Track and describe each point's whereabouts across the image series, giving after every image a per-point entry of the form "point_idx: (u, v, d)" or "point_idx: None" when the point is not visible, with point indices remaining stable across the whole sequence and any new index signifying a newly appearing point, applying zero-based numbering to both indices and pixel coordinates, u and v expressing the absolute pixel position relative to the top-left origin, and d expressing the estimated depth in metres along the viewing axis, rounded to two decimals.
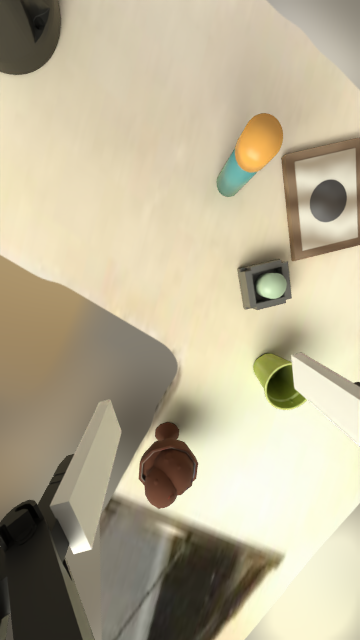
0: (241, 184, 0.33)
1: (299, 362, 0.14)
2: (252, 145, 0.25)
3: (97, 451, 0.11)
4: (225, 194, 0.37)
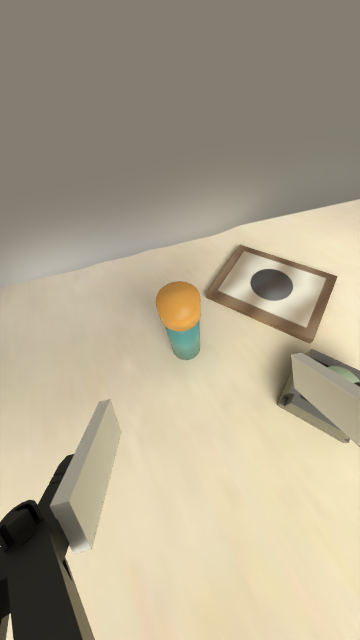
0: (196, 339, 0.28)
1: (299, 362, 0.14)
2: (174, 310, 0.22)
3: (97, 451, 0.11)
4: (192, 356, 0.32)
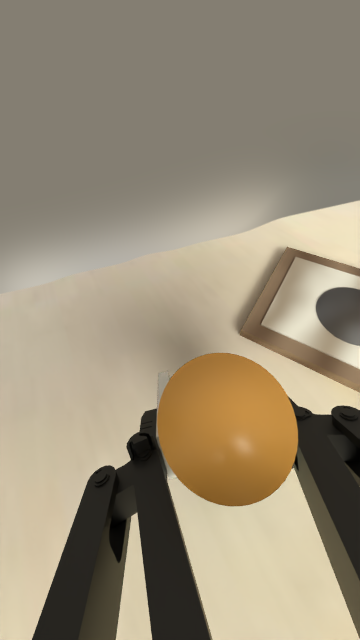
0: None
1: None
2: (219, 467, 0.07)
3: None
4: None
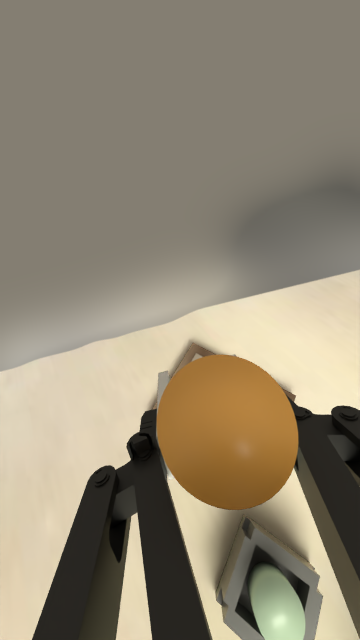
0: None
1: None
2: (219, 470, 0.07)
3: None
4: None
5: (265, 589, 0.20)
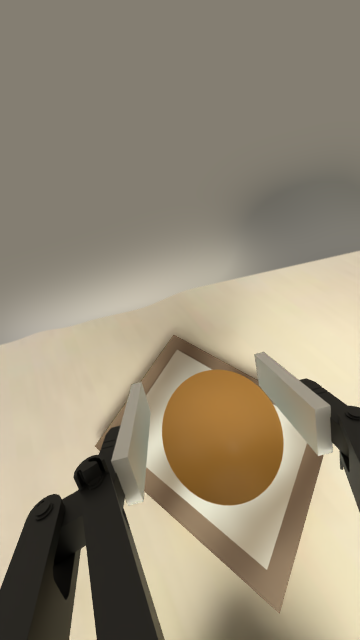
0: None
1: (260, 361, 0.15)
2: (215, 472, 0.08)
3: (138, 423, 0.12)
4: None
5: None
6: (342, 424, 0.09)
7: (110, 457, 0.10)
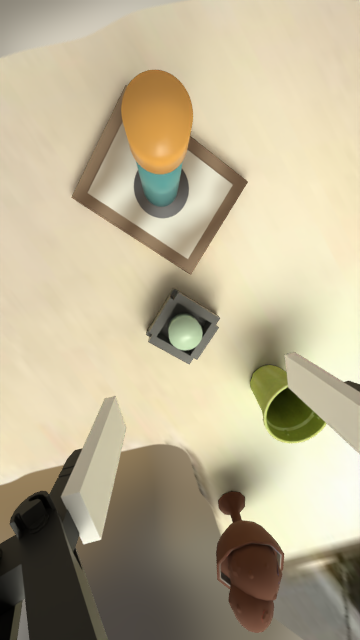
0: (177, 181, 0.22)
1: (292, 362, 0.14)
2: (153, 139, 0.14)
3: (104, 446, 0.11)
4: (169, 203, 0.27)
5: (178, 323, 0.27)
6: None
7: None
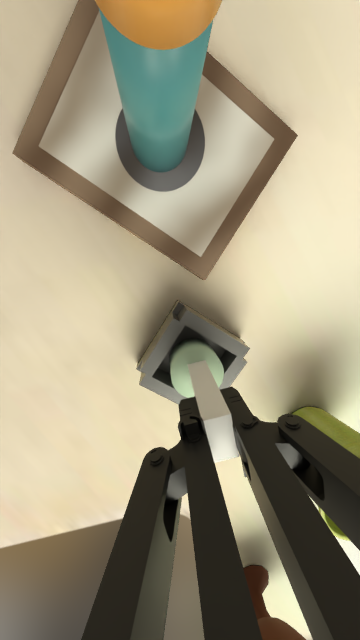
0: (191, 110, 0.12)
1: (198, 369, 0.16)
2: None
3: None
4: (173, 165, 0.16)
5: (186, 359, 0.17)
6: (239, 436, 0.09)
7: None
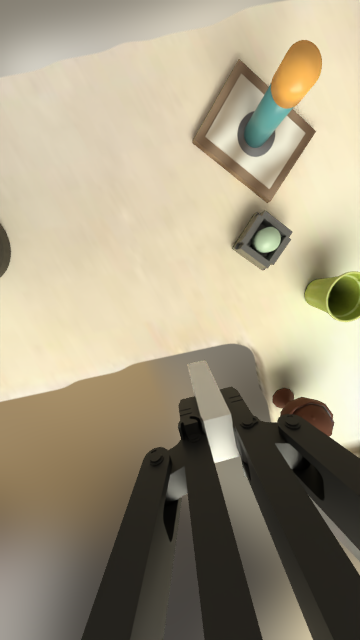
0: None
1: (198, 369, 0.16)
2: (298, 80, 0.26)
3: None
4: (261, 144, 0.38)
5: (265, 231, 0.39)
6: (239, 436, 0.09)
7: None
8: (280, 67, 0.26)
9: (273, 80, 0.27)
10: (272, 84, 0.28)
